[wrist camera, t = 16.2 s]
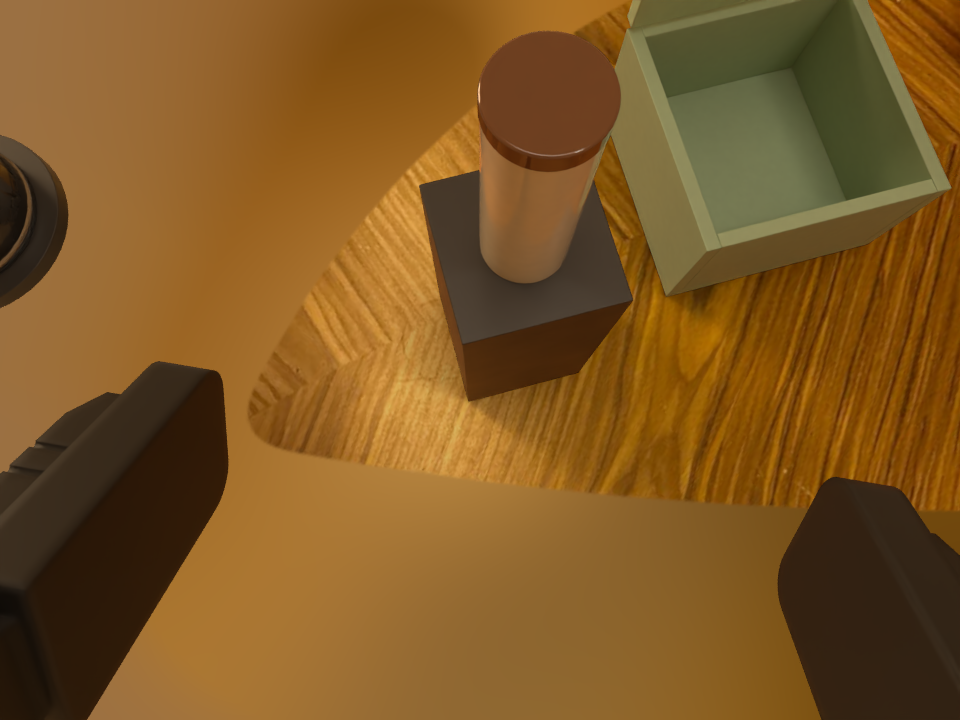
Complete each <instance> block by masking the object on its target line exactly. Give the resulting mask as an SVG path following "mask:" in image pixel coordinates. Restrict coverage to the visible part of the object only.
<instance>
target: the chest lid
mask: <svg viewBox="0 0 960 720" xmlns="http://www.w3.org/2000/svg"><path fill="white" fill-rule="evenodd" d="M744 1H748V0H633V2H632V4H631V7H630V10H629V13H628V20H629V23H630V26H631V28H635V27H639V26H643V25H647V24H652V23H656V22H660V21H664V20H668V19H673V18H677V17H681V16H685V15H689V14H694V13H698V12H702V11H706V10H710V9H715V8H719V7H723V6H727V5H731V4H736V3H740V2H744Z"/></svg>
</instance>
